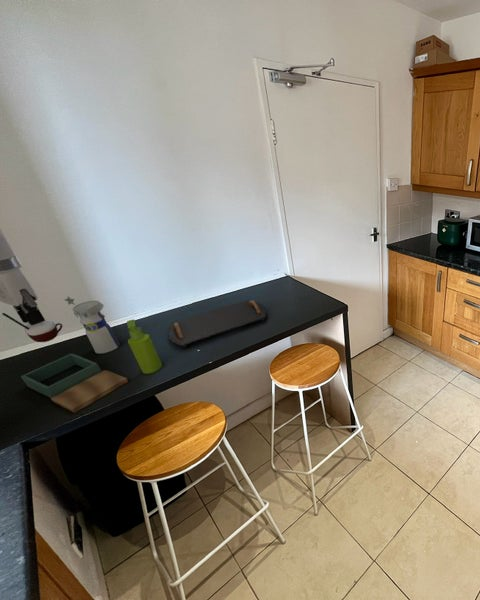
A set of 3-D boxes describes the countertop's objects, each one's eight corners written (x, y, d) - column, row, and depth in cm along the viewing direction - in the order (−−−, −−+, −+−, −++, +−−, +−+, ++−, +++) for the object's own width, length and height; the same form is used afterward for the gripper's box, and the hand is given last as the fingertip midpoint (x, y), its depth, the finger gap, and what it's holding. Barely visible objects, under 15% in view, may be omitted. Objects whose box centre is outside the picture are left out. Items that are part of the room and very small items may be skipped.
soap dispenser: (143, 377, 109) (119, 329, 100) (142, 367, 114) (119, 320, 105) (163, 370, 112) (142, 323, 103) (161, 361, 117) (140, 315, 108)
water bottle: (118, 350, 123) (89, 293, 112) (90, 356, 120) (58, 298, 109) (124, 339, 130) (97, 285, 118) (98, 345, 127) (68, 289, 115)
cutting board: (74, 413, 95) (72, 409, 94) (52, 402, 99) (50, 398, 98) (128, 381, 107) (126, 378, 107) (107, 372, 111) (105, 369, 111)
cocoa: (65, 330, 103) (49, 298, 97) (66, 338, 99) (49, 305, 94) (22, 340, 97) (2, 306, 91) (21, 350, 93) (1, 315, 88)
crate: (53, 399, 100) (46, 388, 98) (27, 386, 105) (20, 376, 103) (102, 373, 111) (97, 363, 109) (77, 362, 116) (71, 353, 114)
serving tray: (256, 302, 159) (253, 291, 156) (273, 320, 143) (271, 308, 141) (165, 330, 136) (160, 317, 134) (174, 354, 121) (169, 341, 118)
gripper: (-35, 265, 86) (3, 322, 95) (-5, 273, 81) (33, 333, 89) (3, 257, 93) (36, 311, 101) (34, 264, 87) (65, 320, 96)
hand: (34, 321), depth 95 cm, fingers closed on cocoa, 3 cm apart
